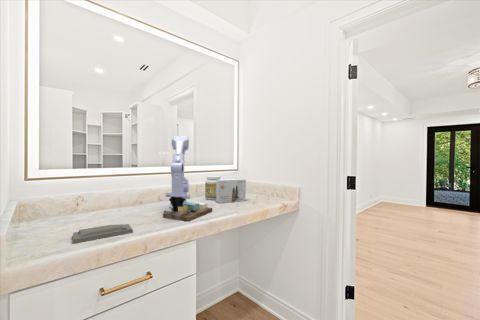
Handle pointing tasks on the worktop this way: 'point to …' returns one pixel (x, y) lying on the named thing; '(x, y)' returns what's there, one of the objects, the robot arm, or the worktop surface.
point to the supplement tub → (211, 187)
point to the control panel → (186, 217)
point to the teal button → (191, 205)
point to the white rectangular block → (201, 205)
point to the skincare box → (230, 190)
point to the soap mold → (100, 232)
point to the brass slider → (183, 209)
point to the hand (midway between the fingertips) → (177, 211)
